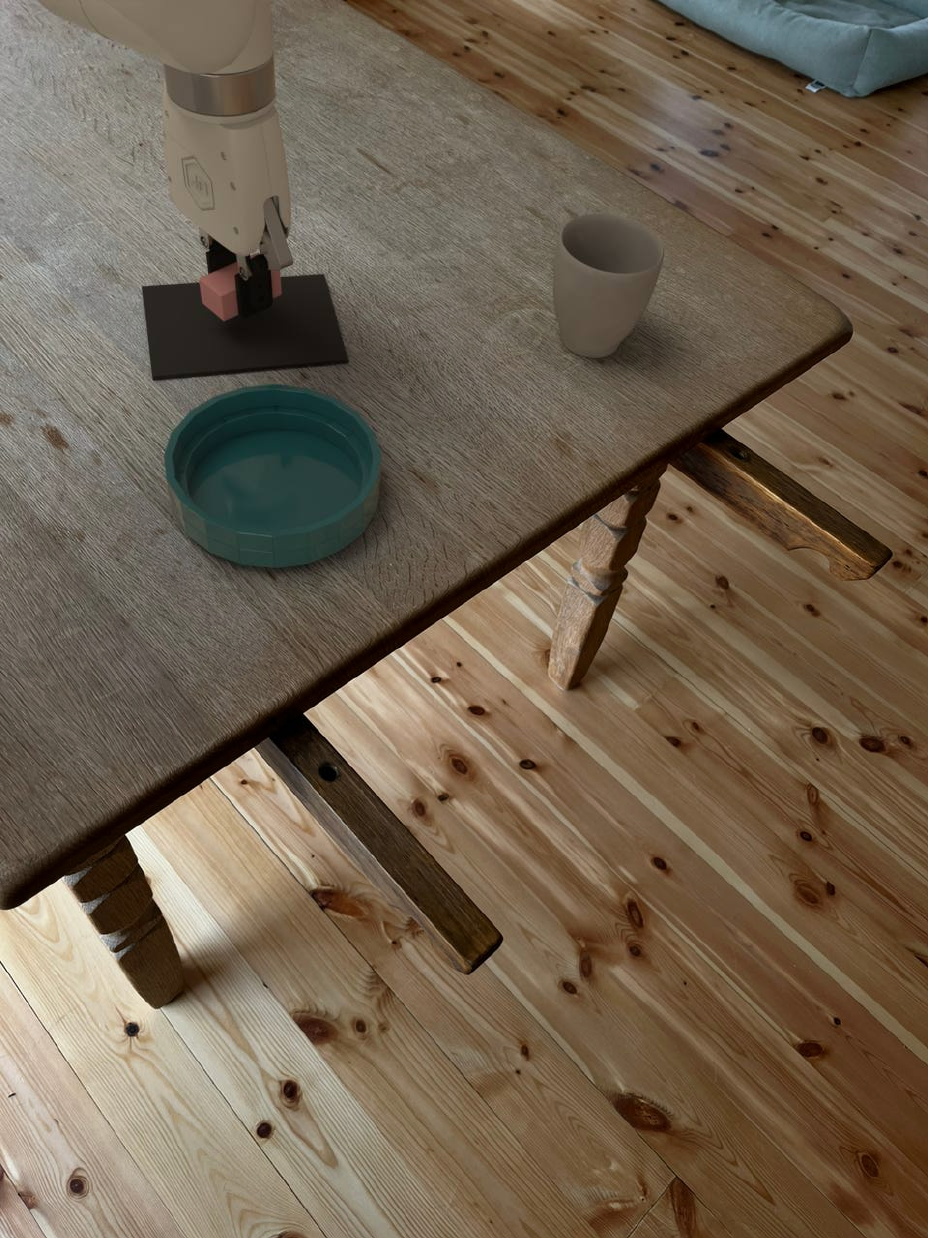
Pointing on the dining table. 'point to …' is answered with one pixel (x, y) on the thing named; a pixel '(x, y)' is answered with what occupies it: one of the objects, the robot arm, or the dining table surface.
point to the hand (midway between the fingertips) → (241, 297)
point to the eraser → (228, 290)
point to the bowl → (273, 475)
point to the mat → (241, 331)
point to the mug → (603, 280)
